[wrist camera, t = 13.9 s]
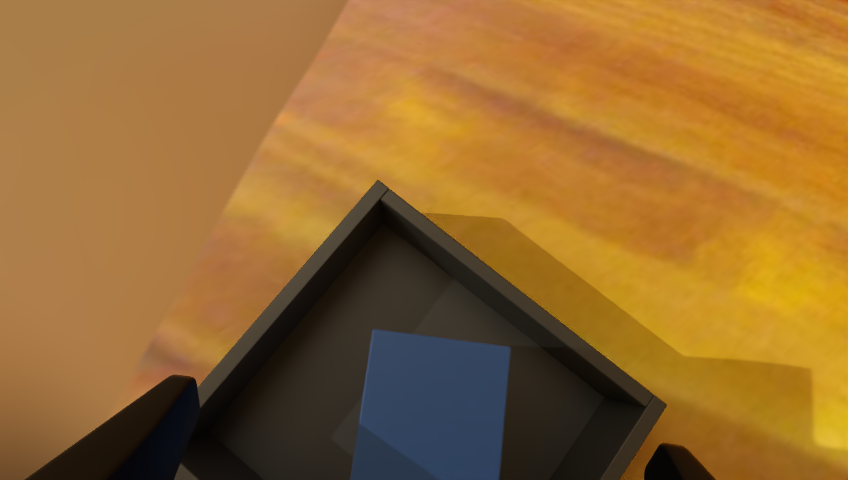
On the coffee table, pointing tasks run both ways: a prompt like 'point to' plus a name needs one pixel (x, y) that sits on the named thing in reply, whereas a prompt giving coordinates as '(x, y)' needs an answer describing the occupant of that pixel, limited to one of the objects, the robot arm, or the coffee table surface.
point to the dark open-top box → (417, 314)
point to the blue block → (431, 409)
